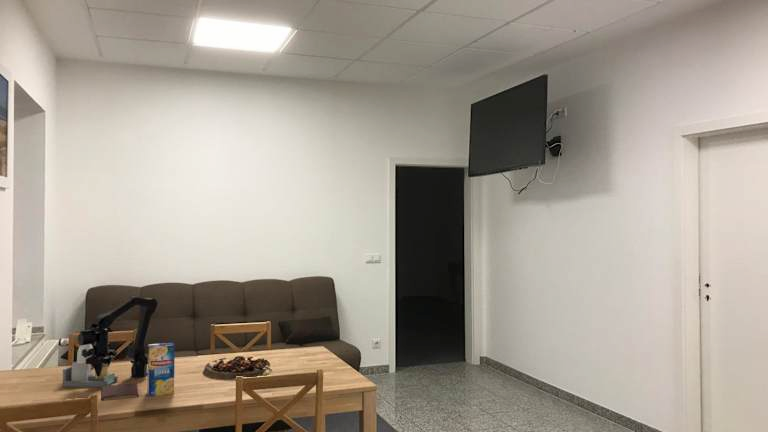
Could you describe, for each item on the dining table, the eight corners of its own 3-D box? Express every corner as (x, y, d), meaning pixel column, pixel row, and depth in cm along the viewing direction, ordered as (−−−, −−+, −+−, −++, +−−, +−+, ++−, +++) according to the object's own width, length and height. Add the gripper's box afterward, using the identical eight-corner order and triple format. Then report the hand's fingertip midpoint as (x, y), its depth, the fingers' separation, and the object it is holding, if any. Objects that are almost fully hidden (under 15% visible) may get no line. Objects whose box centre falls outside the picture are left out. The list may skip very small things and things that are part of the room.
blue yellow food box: (147, 392, 272) (147, 344, 272) (172, 389, 277) (172, 342, 277) (148, 396, 266) (149, 347, 266) (174, 393, 271) (174, 345, 271)
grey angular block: (87, 384, 285) (87, 363, 286) (71, 385, 283) (71, 364, 283) (87, 382, 289) (88, 361, 289) (72, 383, 286) (72, 362, 287)
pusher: (114, 381, 289) (114, 372, 289) (106, 386, 281) (106, 376, 281) (112, 381, 289) (112, 372, 289) (104, 386, 281) (104, 376, 281)
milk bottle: (86, 377, 298) (87, 337, 298) (73, 376, 299) (73, 336, 299) (97, 373, 305) (97, 334, 305) (83, 372, 307) (84, 333, 307)
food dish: (256, 363, 336) (257, 349, 336) (280, 377, 308) (280, 362, 308) (193, 369, 317) (194, 354, 317) (213, 384, 289) (213, 368, 289)
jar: (110, 375, 288) (110, 362, 289) (104, 378, 283) (104, 365, 283) (98, 375, 289) (98, 362, 289) (92, 378, 283) (92, 365, 283)
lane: (117, 381, 291) (117, 365, 291) (106, 387, 280) (107, 370, 280) (75, 380, 291) (75, 364, 291) (62, 386, 281) (63, 369, 281)
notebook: (136, 386, 284) (136, 382, 284) (138, 397, 266) (138, 392, 266) (101, 390, 278) (101, 385, 278) (101, 401, 260) (101, 396, 260)
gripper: (95, 338, 295) (95, 369, 295) (74, 346, 277) (74, 379, 277) (117, 338, 295) (117, 370, 295) (98, 346, 276) (97, 380, 276)
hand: (101, 374), depth 286 cm, fingers closed on jar, 5 cm apart
